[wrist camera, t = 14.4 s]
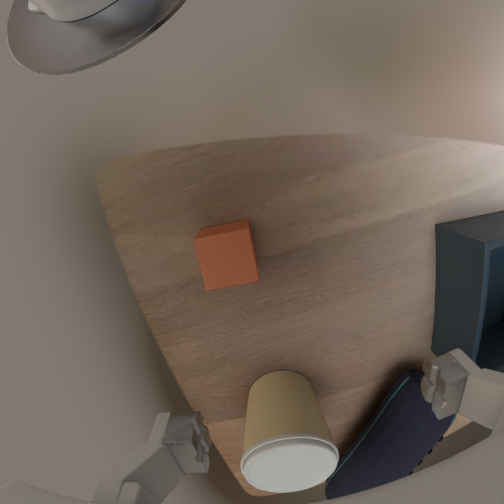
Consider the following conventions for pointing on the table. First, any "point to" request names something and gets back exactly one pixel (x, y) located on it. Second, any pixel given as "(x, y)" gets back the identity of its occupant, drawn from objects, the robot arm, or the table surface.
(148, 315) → the table surface
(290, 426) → the coffee cup
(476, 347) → the open box
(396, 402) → the portable speaker
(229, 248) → the block
